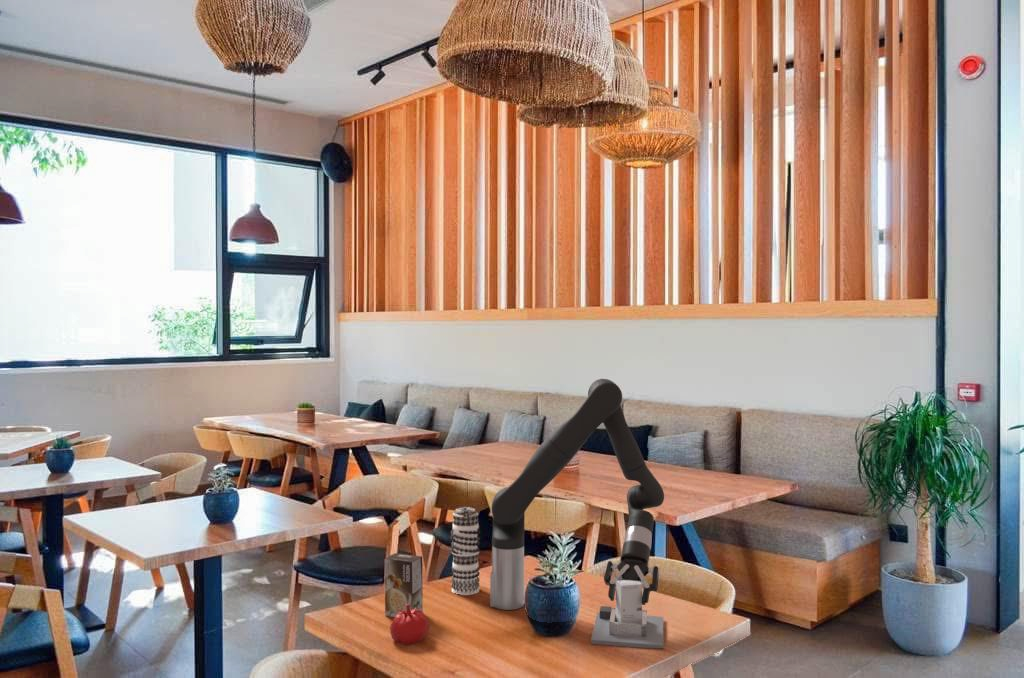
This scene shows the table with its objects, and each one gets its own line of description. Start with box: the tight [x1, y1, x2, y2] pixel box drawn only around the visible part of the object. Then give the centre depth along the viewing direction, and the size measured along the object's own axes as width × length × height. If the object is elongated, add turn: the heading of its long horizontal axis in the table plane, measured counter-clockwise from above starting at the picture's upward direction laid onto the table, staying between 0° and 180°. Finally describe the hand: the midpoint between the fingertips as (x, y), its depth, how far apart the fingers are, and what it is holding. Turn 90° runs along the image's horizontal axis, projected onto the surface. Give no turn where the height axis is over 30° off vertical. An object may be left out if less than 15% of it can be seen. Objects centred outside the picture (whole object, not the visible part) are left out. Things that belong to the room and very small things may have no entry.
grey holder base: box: [590, 605, 664, 649], centre depth 214 cm, size 18×20×3 cm
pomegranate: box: [389, 604, 430, 646], centre depth 209 cm, size 10×10×9 cm
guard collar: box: [609, 607, 648, 637], centre depth 214 cm, size 9×11×3 cm
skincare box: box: [615, 580, 643, 624], centre depth 214 cm, size 6×4×12 cm
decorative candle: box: [450, 506, 481, 596], centre depth 247 cm, size 9×9×25 cm
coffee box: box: [384, 552, 424, 618], centre depth 227 cm, size 9×6×16 cm
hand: (627, 601), depth 213 cm, fingers open, 8 cm apart
